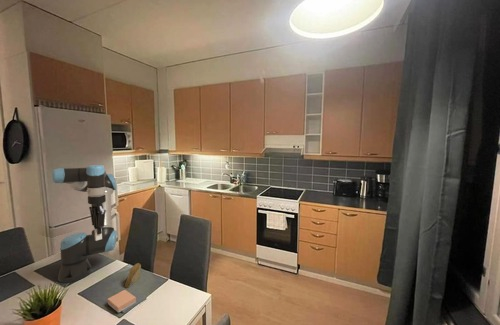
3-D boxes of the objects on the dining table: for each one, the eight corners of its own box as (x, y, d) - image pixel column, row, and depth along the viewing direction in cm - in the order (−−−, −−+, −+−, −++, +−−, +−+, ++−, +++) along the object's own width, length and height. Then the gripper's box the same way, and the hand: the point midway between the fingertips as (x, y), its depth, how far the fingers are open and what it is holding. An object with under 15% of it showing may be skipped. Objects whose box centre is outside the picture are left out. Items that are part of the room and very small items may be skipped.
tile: (107, 298, 103) (118, 307, 97) (124, 289, 109) (135, 297, 104) (107, 303, 103) (118, 312, 97) (125, 294, 109) (136, 302, 104)
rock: (128, 287, 112) (146, 275, 120) (121, 272, 114) (139, 261, 122) (122, 291, 119) (140, 280, 127) (116, 277, 120) (134, 266, 128)
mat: (112, 304, 103) (112, 302, 103) (135, 291, 113) (135, 290, 112) (123, 313, 98) (123, 311, 98) (146, 299, 107) (146, 297, 107)
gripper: (82, 194, 112) (84, 238, 114) (94, 198, 105) (96, 245, 107) (99, 192, 118) (100, 234, 120) (110, 195, 111) (112, 240, 113)
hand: (98, 239), depth 113 cm, fingers closed
